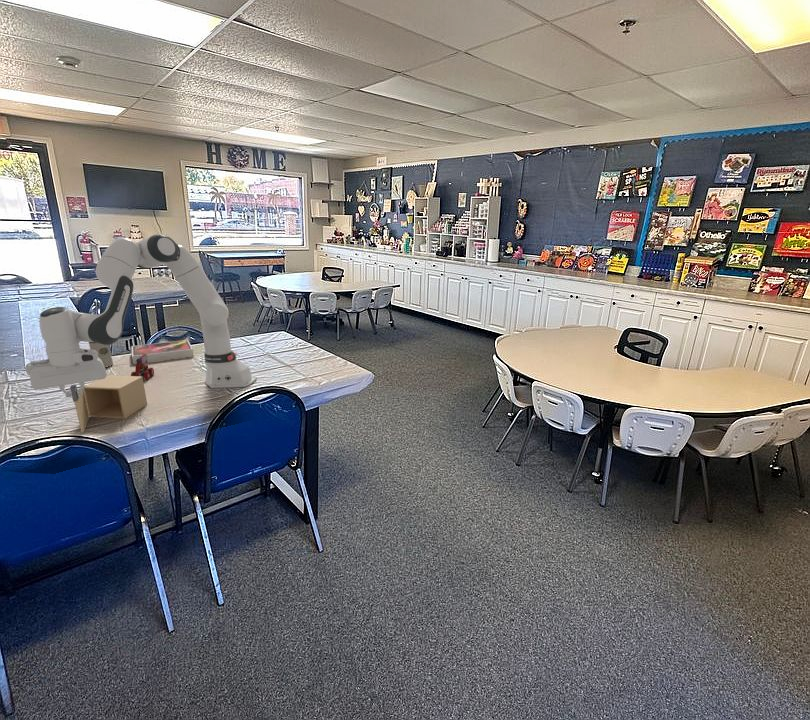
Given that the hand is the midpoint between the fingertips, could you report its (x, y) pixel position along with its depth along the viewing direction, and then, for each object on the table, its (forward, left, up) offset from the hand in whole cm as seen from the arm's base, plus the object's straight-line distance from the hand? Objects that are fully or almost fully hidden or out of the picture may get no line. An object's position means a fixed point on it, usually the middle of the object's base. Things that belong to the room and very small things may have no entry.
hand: (74, 395), depth 144 cm
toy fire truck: (+14, -53, -14) cm, 57 cm away
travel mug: (+44, -67, -14) cm, 81 cm away
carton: (0, -17, -14) cm, 22 cm away
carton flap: (+3, -4, -13) cm, 14 cm away
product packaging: (+26, -88, -14) cm, 93 cm away
